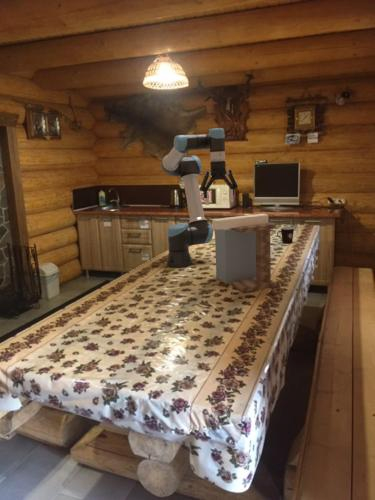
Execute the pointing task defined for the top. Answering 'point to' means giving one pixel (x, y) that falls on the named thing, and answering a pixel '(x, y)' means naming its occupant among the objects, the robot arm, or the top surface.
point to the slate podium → (235, 255)
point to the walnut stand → (258, 259)
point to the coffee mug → (286, 234)
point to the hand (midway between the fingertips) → (219, 203)
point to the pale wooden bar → (239, 221)
